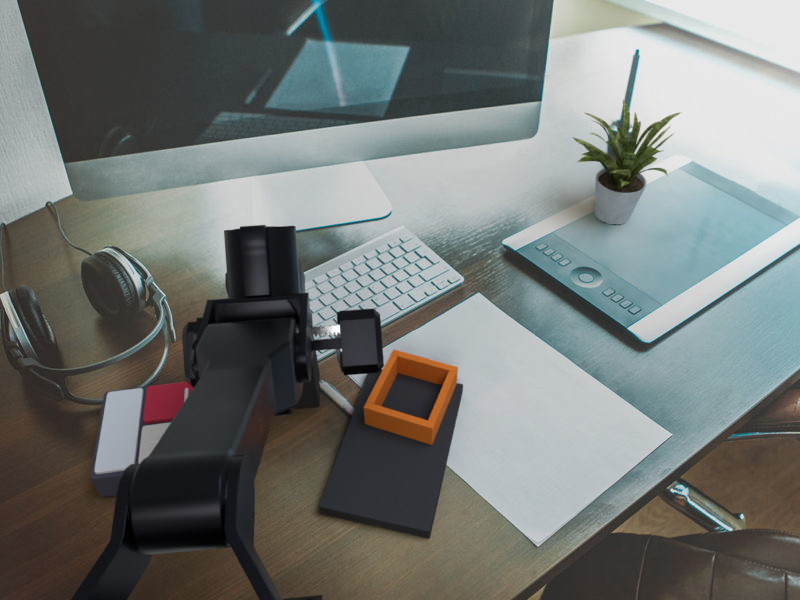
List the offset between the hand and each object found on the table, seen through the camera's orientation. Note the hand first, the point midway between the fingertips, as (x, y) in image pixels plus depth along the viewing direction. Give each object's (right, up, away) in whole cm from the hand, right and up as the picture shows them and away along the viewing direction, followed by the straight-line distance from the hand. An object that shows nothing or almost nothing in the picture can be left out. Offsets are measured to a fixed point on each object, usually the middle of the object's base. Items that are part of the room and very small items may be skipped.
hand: (294, 342), depth 71 cm
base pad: (+11, -11, -2) cm, 16 cm away
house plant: (+44, +18, +28) cm, 55 cm away
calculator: (-12, -11, -1) cm, 16 cm away
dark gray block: (0, -6, +4) cm, 7 cm away
